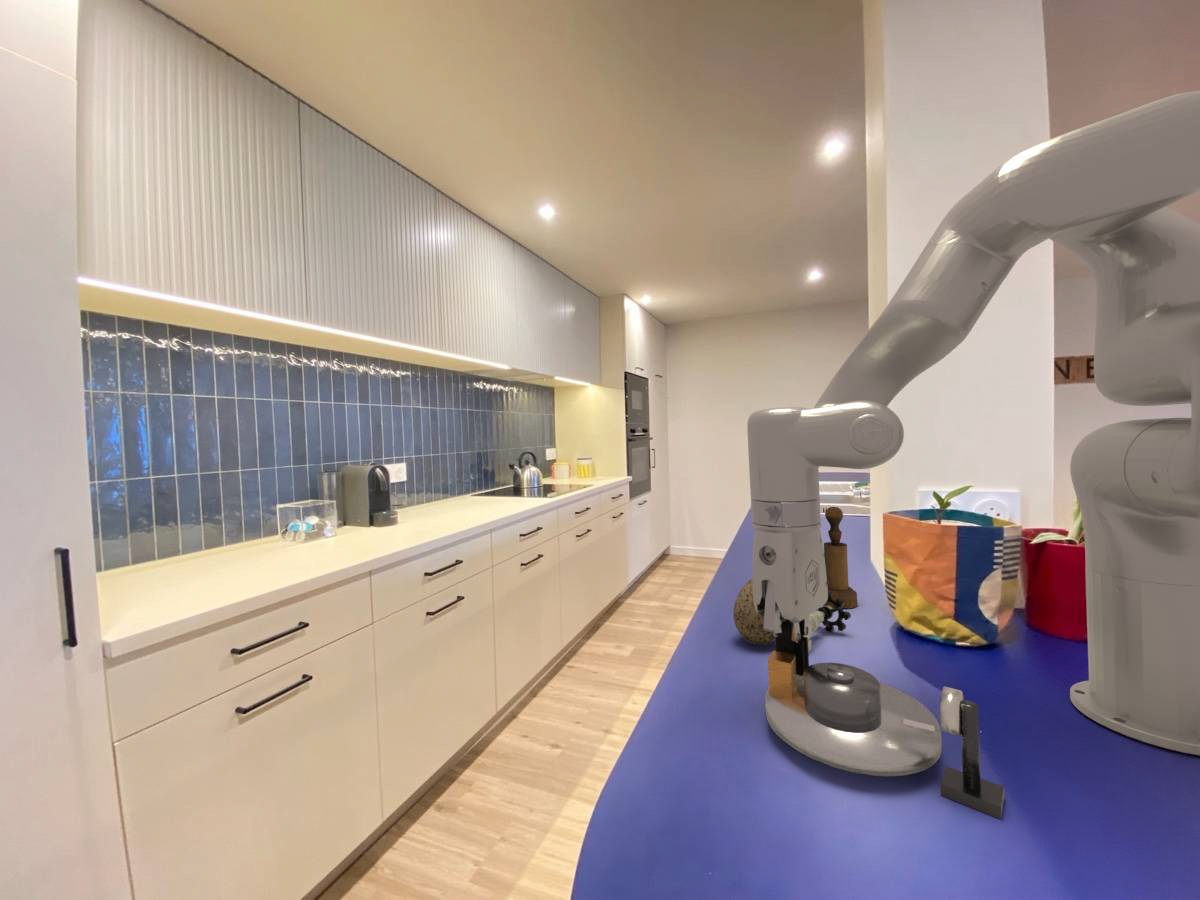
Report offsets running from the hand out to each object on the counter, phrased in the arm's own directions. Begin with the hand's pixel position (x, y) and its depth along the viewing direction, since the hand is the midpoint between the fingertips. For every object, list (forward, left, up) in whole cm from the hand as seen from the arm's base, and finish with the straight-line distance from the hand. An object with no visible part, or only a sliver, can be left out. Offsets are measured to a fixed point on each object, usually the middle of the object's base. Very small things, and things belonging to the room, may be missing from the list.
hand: (792, 669), depth 55 cm
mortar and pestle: (+8, -39, -4) cm, 40 cm away
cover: (-6, +3, -1) cm, 7 cm away
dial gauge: (-17, +4, -4) cm, 18 cm away
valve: (+5, -19, -5) cm, 20 cm away
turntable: (-6, +2, -3) cm, 7 cm away
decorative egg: (+11, -13, -4) cm, 18 cm away
